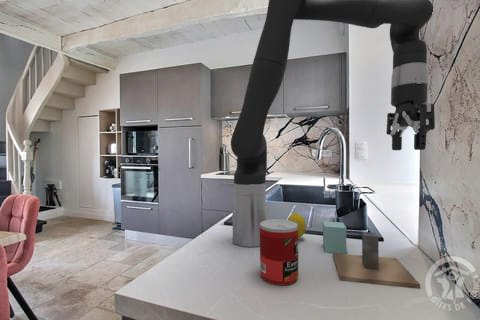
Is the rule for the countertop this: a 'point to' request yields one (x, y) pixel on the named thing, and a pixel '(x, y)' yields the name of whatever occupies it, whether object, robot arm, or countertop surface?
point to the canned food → (279, 251)
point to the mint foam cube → (334, 237)
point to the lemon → (298, 223)
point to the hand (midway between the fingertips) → (407, 150)
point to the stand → (373, 266)
